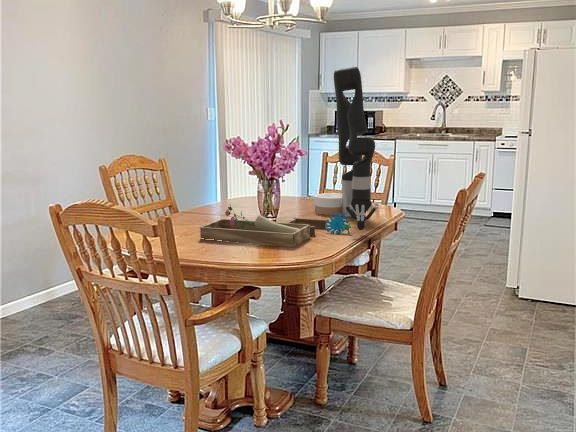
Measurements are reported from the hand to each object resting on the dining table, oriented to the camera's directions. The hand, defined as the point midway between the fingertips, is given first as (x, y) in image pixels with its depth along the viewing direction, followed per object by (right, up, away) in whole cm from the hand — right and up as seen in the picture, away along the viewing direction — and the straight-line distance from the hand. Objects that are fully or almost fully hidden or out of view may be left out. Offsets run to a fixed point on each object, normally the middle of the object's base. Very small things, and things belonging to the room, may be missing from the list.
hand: (361, 229), depth 234 cm
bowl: (-8, +7, +51) cm, 52 cm away
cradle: (-22, -1, +9) cm, 24 cm away
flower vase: (-40, -3, -2) cm, 40 cm away
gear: (-9, -2, +5) cm, 10 cm away
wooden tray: (-43, -3, -3) cm, 43 cm away
